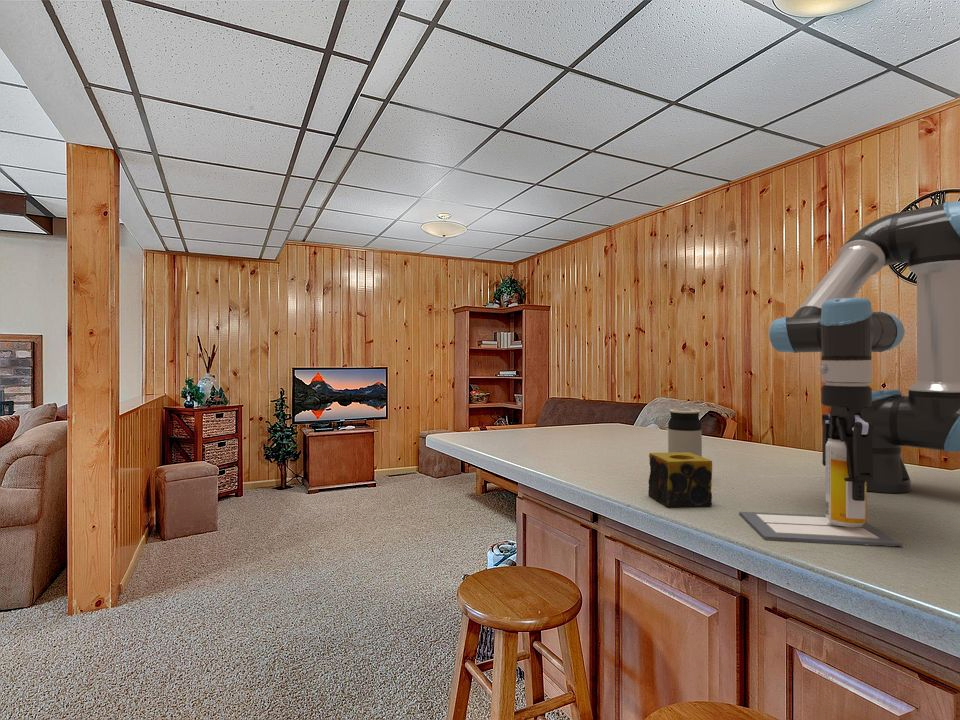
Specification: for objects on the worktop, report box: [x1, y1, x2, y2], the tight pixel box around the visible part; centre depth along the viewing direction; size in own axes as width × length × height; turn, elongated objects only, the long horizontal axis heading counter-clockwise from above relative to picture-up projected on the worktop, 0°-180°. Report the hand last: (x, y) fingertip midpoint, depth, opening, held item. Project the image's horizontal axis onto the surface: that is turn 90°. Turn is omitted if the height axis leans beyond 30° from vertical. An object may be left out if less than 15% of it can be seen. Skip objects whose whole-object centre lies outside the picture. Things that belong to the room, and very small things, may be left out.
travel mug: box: [667, 408, 703, 457], centre depth 136 cm, size 8×8×18 cm
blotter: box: [738, 511, 903, 548], centre depth 97 cm, size 21×15×1 cm
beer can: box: [825, 438, 868, 527], centre depth 96 cm, size 6×6×15 cm
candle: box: [648, 452, 713, 509], centre depth 117 cm, size 10×10×10 cm
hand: (846, 512), depth 96 cm, fingers closed on beer can, 6 cm apart
